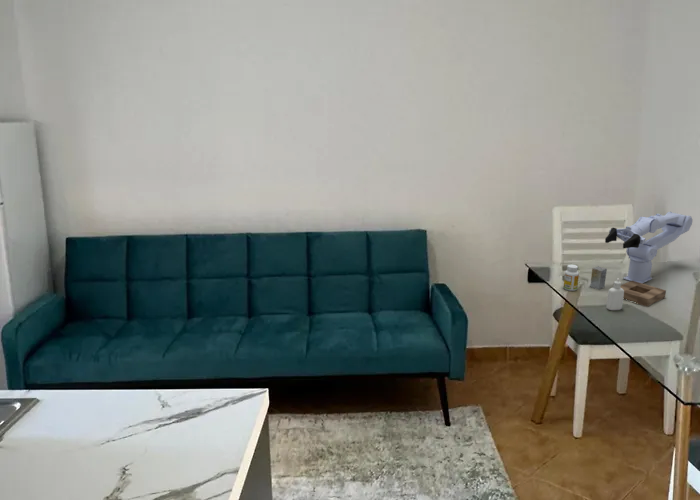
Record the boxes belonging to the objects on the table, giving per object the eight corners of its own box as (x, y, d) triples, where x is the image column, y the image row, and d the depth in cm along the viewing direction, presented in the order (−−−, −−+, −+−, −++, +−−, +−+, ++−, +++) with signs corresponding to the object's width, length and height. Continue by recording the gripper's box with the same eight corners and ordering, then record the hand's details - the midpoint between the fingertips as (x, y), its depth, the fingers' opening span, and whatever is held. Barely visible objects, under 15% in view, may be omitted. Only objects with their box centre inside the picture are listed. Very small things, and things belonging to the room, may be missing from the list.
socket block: (631, 287, 262) (631, 280, 261) (664, 297, 251) (666, 290, 250) (612, 295, 254) (613, 288, 253) (646, 306, 243) (647, 299, 242)
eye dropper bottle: (605, 305, 245) (609, 276, 241) (621, 307, 243) (625, 277, 239) (606, 310, 241) (610, 280, 237) (622, 311, 239) (626, 281, 235)
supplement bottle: (575, 286, 263) (578, 264, 260) (578, 291, 258) (581, 268, 255) (562, 285, 264) (564, 263, 261) (564, 290, 259) (567, 268, 256)
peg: (595, 284, 265) (597, 266, 263) (604, 287, 262) (606, 268, 260) (590, 286, 263) (592, 268, 260) (599, 289, 260) (601, 271, 257)
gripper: (619, 218, 263) (599, 228, 256) (652, 227, 252) (632, 239, 245) (617, 233, 266) (598, 244, 259) (651, 243, 255) (631, 255, 248)
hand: (614, 243), depth 252 cm, fingers open, 7 cm apart
